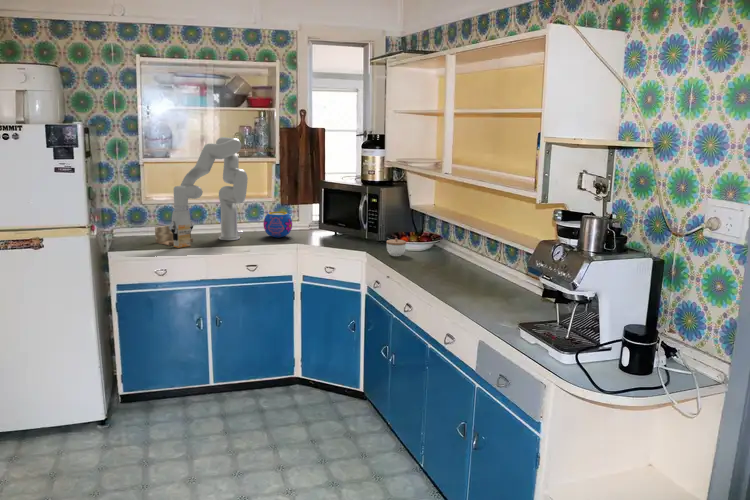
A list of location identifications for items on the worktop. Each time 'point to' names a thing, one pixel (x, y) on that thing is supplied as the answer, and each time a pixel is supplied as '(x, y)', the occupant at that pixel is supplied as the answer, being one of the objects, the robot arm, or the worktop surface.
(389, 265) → the worktop surface
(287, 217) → the ceramic pot
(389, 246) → the lidded jar
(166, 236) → the patterned wooden bookend
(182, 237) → the supplement box
